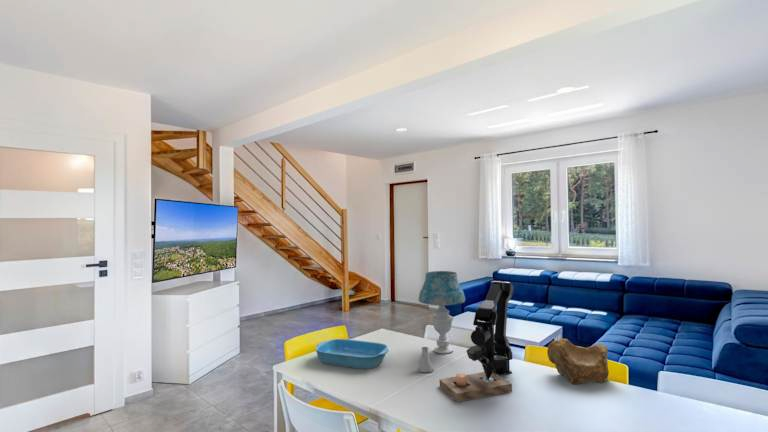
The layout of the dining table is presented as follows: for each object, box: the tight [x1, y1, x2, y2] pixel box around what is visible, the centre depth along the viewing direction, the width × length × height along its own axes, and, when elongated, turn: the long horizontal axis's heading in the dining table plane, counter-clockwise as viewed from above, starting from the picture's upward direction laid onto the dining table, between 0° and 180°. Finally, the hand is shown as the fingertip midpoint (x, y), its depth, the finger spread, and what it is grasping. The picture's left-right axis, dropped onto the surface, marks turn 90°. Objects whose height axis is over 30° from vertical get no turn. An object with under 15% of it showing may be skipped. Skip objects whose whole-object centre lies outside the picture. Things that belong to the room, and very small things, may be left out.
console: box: [438, 371, 513, 402], centre depth 150 cm, size 24×14×3 cm, turn 108°
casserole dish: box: [315, 338, 390, 370], centre depth 185 cm, size 37×22×7 cm, turn 69°
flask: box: [417, 346, 434, 374], centre depth 170 cm, size 7×7×10 cm
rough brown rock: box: [547, 338, 610, 385], centre depth 156 cm, size 23×17×15 cm
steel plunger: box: [482, 376, 494, 383], centre depth 152 cm, size 4×4×3 cm
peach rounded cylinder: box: [455, 373, 468, 387], centre depth 148 cm, size 4×4×3 cm
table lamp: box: [418, 270, 466, 355], centre depth 196 cm, size 24×24×40 cm
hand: (488, 377), depth 152 cm, fingers closed, pressing on steel plunger
